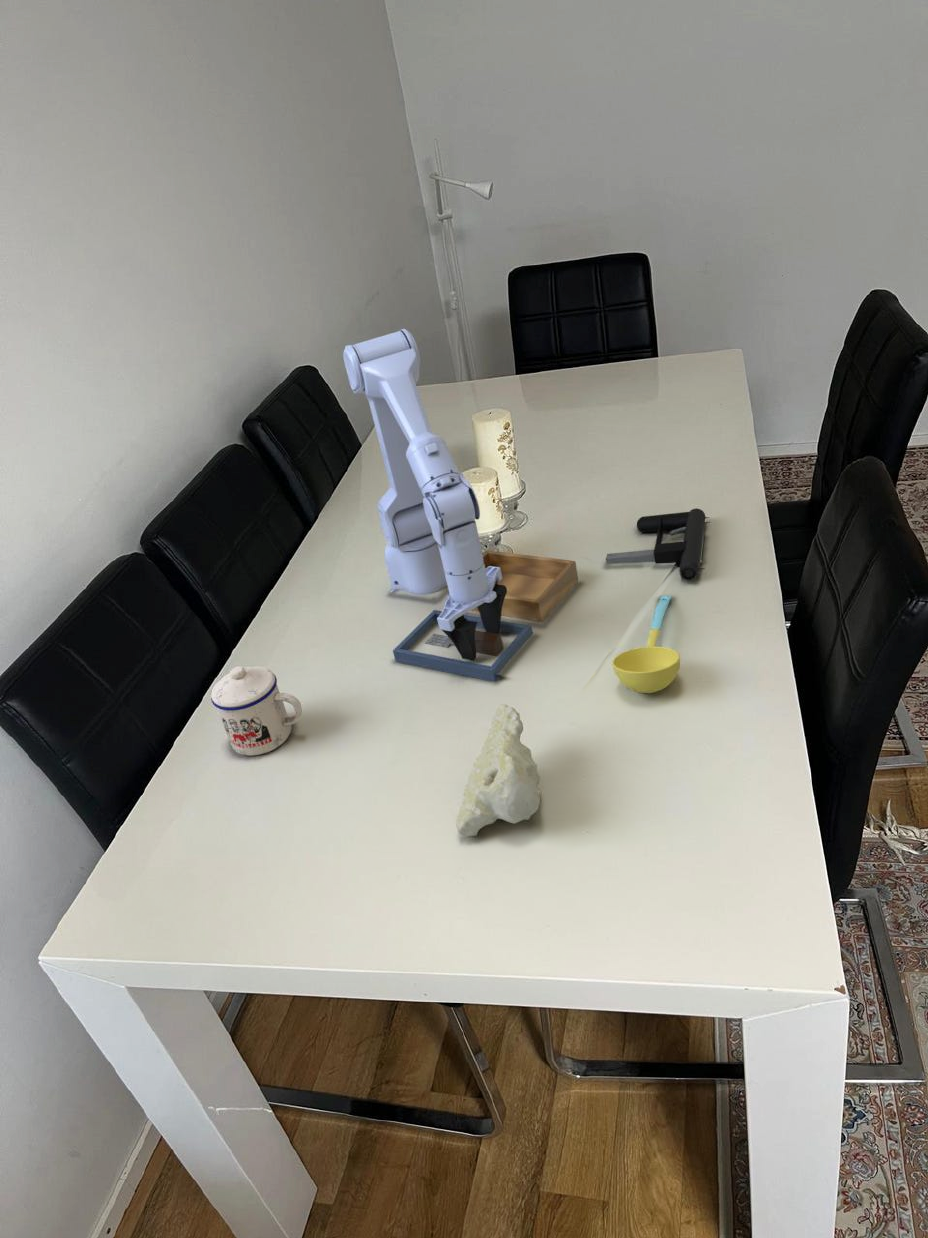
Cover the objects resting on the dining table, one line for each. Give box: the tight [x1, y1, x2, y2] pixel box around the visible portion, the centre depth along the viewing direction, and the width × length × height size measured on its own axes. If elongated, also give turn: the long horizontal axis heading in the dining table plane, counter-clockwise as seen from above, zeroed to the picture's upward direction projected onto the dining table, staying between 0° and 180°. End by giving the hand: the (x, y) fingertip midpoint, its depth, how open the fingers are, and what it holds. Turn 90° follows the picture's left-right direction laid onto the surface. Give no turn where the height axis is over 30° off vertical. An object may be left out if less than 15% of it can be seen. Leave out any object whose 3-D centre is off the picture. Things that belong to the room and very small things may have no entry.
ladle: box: [612, 595, 681, 694], centre depth 137 cm, size 9×26×6 cm, turn 165°
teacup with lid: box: [210, 665, 303, 756], centre depth 134 cm, size 12×9×12 cm
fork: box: [424, 629, 504, 657], centre depth 146 cm, size 13×2×3 cm, turn 59°
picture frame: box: [392, 609, 534, 683], centre depth 146 cm, size 18×12×2 cm, turn 59°
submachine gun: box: [605, 507, 712, 582], centre depth 159 cm, size 3×20×16 cm
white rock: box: [455, 703, 541, 838], centre depth 116 cm, size 15×7×15 cm
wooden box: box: [446, 550, 579, 624], centre depth 155 cm, size 17×13×4 cm
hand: (481, 645), depth 144 cm, fingers open, 6 cm apart
